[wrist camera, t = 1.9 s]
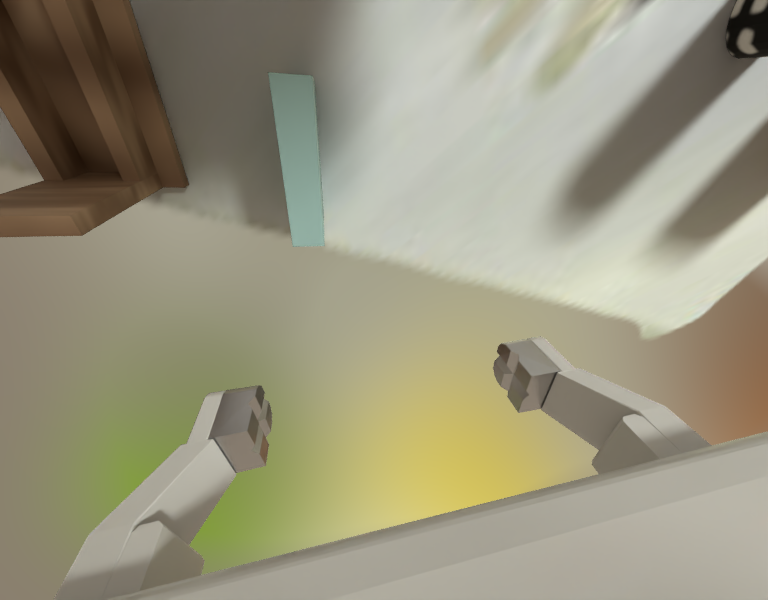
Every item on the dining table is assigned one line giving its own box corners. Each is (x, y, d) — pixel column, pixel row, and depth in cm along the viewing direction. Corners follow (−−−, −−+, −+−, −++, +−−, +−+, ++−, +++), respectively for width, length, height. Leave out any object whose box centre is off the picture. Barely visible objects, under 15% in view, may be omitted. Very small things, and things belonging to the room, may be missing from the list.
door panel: (283, 78, 24) (268, 72, 17) (314, 81, 24) (312, 75, 17) (299, 210, 30) (292, 246, 23) (323, 210, 31) (324, 245, 23)
